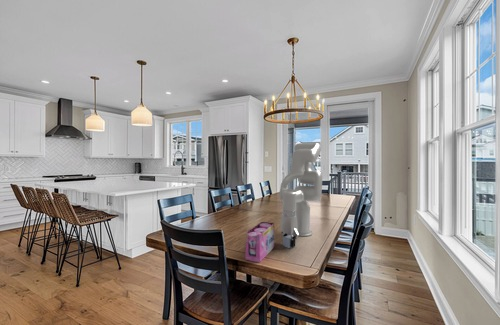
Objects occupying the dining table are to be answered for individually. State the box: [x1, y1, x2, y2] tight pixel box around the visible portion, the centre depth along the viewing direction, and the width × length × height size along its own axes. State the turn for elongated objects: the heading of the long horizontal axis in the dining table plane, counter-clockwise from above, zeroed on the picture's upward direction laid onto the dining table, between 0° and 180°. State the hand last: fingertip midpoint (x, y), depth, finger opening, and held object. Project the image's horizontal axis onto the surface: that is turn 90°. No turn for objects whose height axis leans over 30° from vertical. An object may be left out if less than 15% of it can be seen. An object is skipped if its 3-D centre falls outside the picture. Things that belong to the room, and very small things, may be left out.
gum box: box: [244, 221, 275, 263], centre depth 125 cm, size 24×8×14 cm, turn 156°
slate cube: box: [282, 235, 292, 249], centre depth 136 cm, size 5×5×5 cm
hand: (289, 244), depth 136 cm, fingers open, 5 cm apart
